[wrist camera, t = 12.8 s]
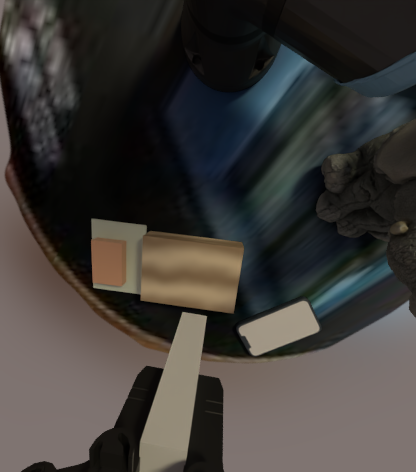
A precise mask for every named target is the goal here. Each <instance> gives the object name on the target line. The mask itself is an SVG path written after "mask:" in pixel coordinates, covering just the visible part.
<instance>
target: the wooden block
mask: <svg viewBox="0 0 416 472" xmlns="http://www.w3.org/2000/svg"><path fill="white" fill-rule="evenodd" d="M243 252H244V247H243V244H242V242H235V241H228V240H220V239H212V238H204V237H196V236H188V235H180V234H172V233H164V232H156V231H150V232H148V233H146V234H145V235H143V246H142V276H141V301H148V302H155V303H162V304H169V305H176V306H183V307H190V308H197V309H205V310H212V311H219V312H226V313H233V314H234V308H235V301H236V295H237V289H238V283H239V276H240V270H241V264H242V258H243Z"/></svg>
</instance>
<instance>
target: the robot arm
mask: <svg viewBox="0 0 416 472" xmlns="http://www.w3.org/2000/svg"><path fill="white" fill-rule="evenodd" d="M181 36H182V43H183V47H184V51H185V54H186V58H187V61H188V63H189V65H190V67H191V69H192V71H193V72H194V74H195V75H196V76H197V77H198V78H199V79H200V80H201V81H202V82H203V83H204V84H205V85H207V86H209V87H210V88H212V89H215V90H218V91H222V92H236V91H240V90H244V89H246V88H248V87H250V86H252V85H254V84H255V83H256V82H258V81H259V80H260V79H261V78H262V77H263V76H264V75H265V74H266V73H267V72H268V70H269V69H270V67H271V66H272V64H273V62H274V60H275V58H276V56H277V53H278V51H279V48H280V46H281V44H283V45H284V46H286V47H287V48H289V49H290V50H292V51H294V52H295V53H297V54H298V55H300V56H301V57H303V58H304V59H306V60H307V61H309V62H310V63H312V64H313V65H315V66H317V67H318V68H320V69H321V70H323V71H324V72H326V73H327V74H329V75H330V76H332V77H333V78H334V81H335V82H336V83H337V84H339V85H342V86H348V87H349V88H351V89H353V90H355V91H356V92H358V93H360V94H362V95H364V96H366V97H385V96H389V95H392V94H395V93H398V92H400V91H402V90H405V89H407V88H409V87H411V86H413V85H415V84H416V0H184V5H183V11H182V18H181ZM206 318H207V316H203V315H197V314H191V313H185V312H183V313H182V316H181V319H180V322H179V325H178V328H177V331H176V334H175V337H174V340H173V343H172V346H171V349H170V352H169V356H168V359H167V362H166V365H165V368H164V369H162V368H156V367H151V366H146V367H145V368H144V369H143V370H142V371H141V372H140V373H139V374H138V376H137V377H136V380H135V382H134V384H133V386H132V389H131V391H130V393H129V395H128V398H127V400H126V402H125V404H124V406H123V408H122V410H121V413H120V415H119V417H118V419H117V421H116V424H115V426H114V428H112V429H110V430H107V431H105V432H104V433H102V434H101V435H100V436H99V437H98V438H97V439H96V440H95V441H94V443H93V444H92V446H91V447H90V449H89V457H90V460H88V461H87V462H85V463H82V464H79V465H75V466H71V467H66V468H62V469H58V470H57V469H56V468H55V467H54V465H53V464H52V463H49V462H45V461H43V462H39V463H34V464H33V465H31V466H29V467H27V468H26V469H24V470H22V471H21V472H224V470H223V462H222V456H223V453H222V452H223V388H222V385H221V382H220V380H219V378H215V377H209V376H204V375H199V368H200V361H201V354H202V346H203V339H204V332H205V325H206Z"/></svg>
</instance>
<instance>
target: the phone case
mask: <svg viewBox="0 0 416 472" xmlns="http://www.w3.org/2000/svg"><path fill="white" fill-rule="evenodd" d="M320 330H321V325H320V323H319V320H318V318H317V316H316V314H315V312H314V310H313V308H312V305H311V303H310V301H309V300H308V299H307V298H306V297H303V296H302V297H298V298H296V299H293V300H291V301H288V302H286V303H283V304H281V305H279V306H276V307H274V308H271V309H269V310H266V311H264V312H261V313H259V314H257V315H254V316H252V317H249V318H247V319H245V320H242V321H240V322H238V323H237V324H236V331H237V333H238V334H239V336H240V338H241V340H242V341H243V343H244V345H245V347H246V349H247V350H248V352H249V354H250V355H251V356H254V357H256V356H259V355H262V354H264V353H267V352H269V351H272V350H275V349H277V348H280V347H282V346H285V345H288V344H290V343H293V342H295V341H298V340H301V339H303V338H306V337H308V336H311V335H314V334H316V333H318V332H320Z"/></svg>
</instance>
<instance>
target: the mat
mask: <svg viewBox="0 0 416 472" xmlns="http://www.w3.org/2000/svg"><path fill="white" fill-rule="evenodd" d="M91 221H92V239H94V238H97V237H99V238H107V239H116V240H124V241H126V283H125V284H124V285H123V286H115V285H107V284H99V283H93V288H99V289H106V290H113V291H120V292H128V293H135V294H141V276H142V246H143V235H145V234H146V232H147V225H140V224H132V223H123V222H115V221H107V220H99V219H91Z"/></svg>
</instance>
